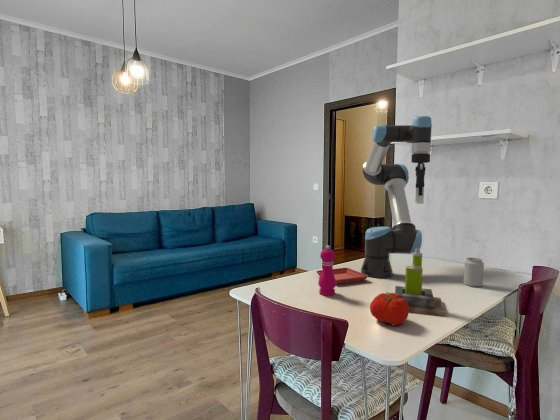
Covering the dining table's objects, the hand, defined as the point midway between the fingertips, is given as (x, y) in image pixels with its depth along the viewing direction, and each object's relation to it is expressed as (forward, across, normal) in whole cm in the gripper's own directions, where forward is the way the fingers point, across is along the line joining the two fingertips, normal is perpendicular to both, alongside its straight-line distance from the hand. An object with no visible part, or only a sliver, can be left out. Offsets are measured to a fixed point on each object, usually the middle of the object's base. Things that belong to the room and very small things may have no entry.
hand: (419, 202), depth 156 cm
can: (+37, +9, -24) cm, 45 cm away
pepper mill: (+37, -25, +35) cm, 57 cm away
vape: (+35, -28, +2) cm, 45 cm away
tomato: (+37, -47, +10) cm, 61 cm away
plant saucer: (+37, -1, +33) cm, 50 cm away
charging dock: (+37, -28, +2) cm, 46 cm away
